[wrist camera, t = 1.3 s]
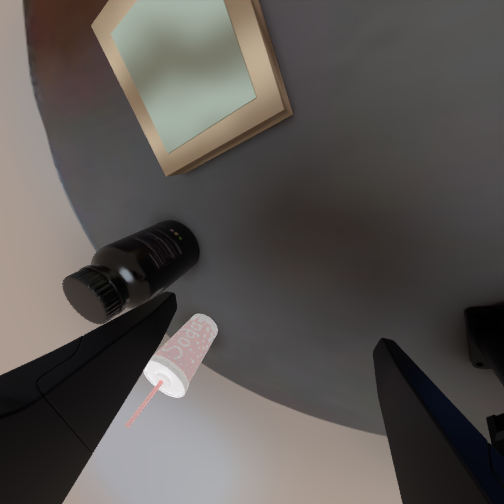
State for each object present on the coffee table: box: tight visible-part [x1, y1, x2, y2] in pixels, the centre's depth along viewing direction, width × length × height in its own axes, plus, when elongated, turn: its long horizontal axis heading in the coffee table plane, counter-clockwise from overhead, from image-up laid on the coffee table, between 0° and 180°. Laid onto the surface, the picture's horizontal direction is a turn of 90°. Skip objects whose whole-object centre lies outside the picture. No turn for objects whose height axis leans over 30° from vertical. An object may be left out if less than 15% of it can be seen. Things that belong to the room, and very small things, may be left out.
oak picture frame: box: [91, 0, 293, 177], centre depth 17 cm, size 12×12×3 cm
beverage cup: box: [125, 314, 218, 428], centre depth 27 cm, size 6×6×14 cm
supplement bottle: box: [62, 221, 198, 324], centre depth 22 cm, size 7×7×12 cm
